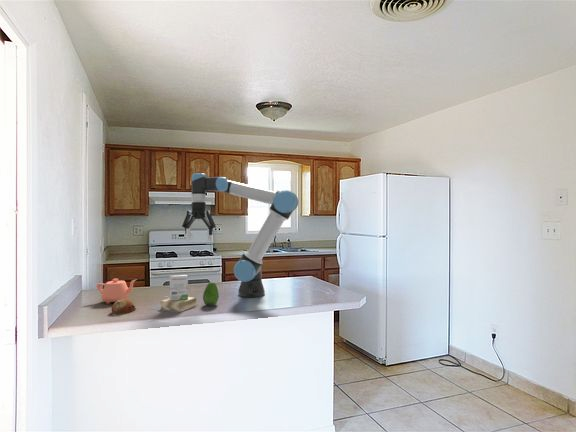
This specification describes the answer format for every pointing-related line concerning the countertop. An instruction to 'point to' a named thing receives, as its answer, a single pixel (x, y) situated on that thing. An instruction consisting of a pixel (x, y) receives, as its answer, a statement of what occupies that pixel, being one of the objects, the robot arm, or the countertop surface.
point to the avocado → (211, 294)
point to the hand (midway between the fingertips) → (198, 240)
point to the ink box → (178, 287)
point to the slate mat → (163, 309)
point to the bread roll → (123, 306)
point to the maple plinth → (178, 304)
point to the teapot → (115, 290)
